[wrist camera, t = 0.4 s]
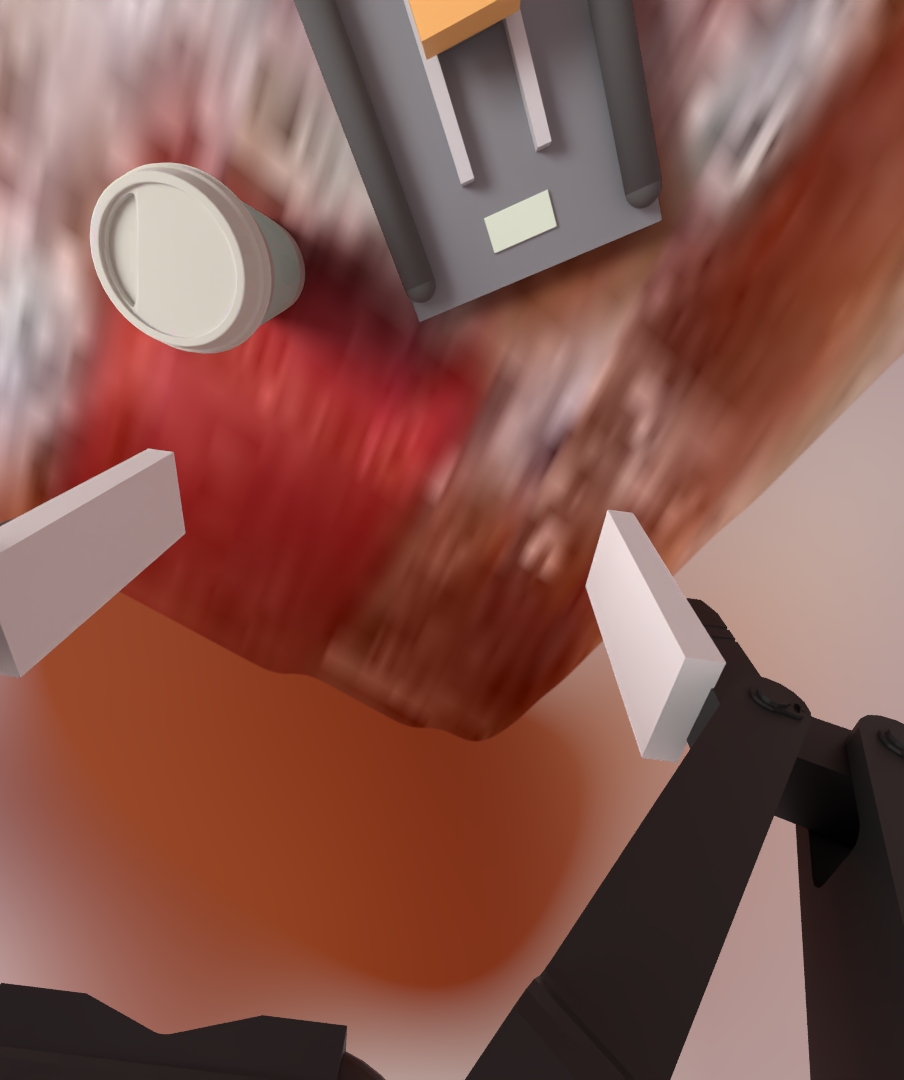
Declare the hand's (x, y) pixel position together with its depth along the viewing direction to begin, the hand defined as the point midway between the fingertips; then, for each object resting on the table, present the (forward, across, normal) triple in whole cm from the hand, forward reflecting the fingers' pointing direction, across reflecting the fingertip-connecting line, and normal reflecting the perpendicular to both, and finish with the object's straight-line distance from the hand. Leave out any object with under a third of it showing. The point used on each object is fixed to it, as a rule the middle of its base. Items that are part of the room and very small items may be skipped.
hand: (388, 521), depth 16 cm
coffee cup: (+25, -13, +6) cm, 29 cm away
